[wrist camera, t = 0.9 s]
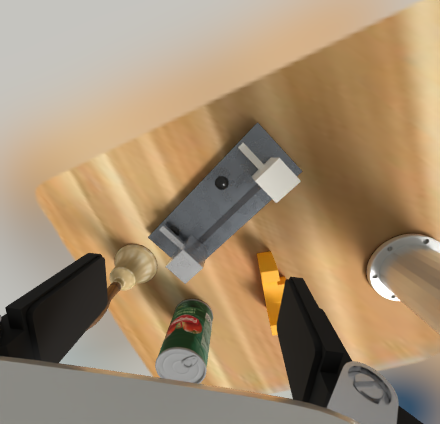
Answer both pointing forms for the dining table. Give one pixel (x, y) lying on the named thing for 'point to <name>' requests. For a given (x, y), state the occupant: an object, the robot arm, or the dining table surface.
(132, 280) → the hand bell
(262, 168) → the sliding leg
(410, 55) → the dining table surface
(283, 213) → the dining table surface
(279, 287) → the pipe clamp
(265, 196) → the plate
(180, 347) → the canned tomato
